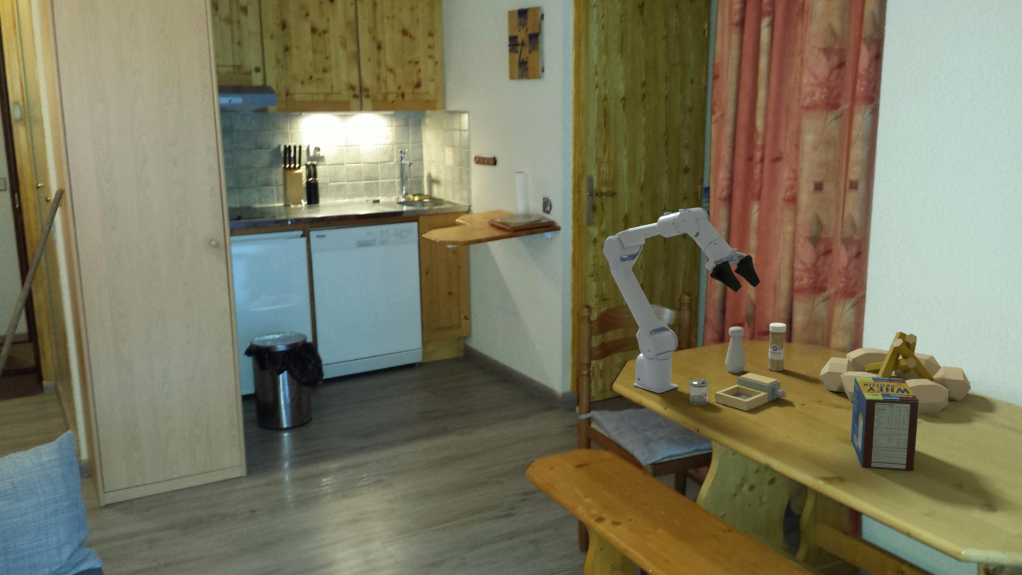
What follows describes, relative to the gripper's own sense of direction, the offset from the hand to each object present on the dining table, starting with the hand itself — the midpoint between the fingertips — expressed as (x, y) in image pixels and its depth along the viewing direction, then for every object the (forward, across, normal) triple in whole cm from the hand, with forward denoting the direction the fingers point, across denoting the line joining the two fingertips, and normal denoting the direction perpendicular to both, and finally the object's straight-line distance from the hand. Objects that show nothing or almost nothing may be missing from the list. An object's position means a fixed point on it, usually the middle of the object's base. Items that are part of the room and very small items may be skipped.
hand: (748, 286), depth 206 cm
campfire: (+34, +42, +14) cm, 56 cm away
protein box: (+48, 0, +2) cm, 48 cm away
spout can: (+12, -2, +33) cm, 35 cm away
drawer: (+18, +9, +27) cm, 34 cm away
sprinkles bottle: (+10, +37, +34) cm, 51 cm away
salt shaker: (+5, +27, +39) cm, 48 cm away
